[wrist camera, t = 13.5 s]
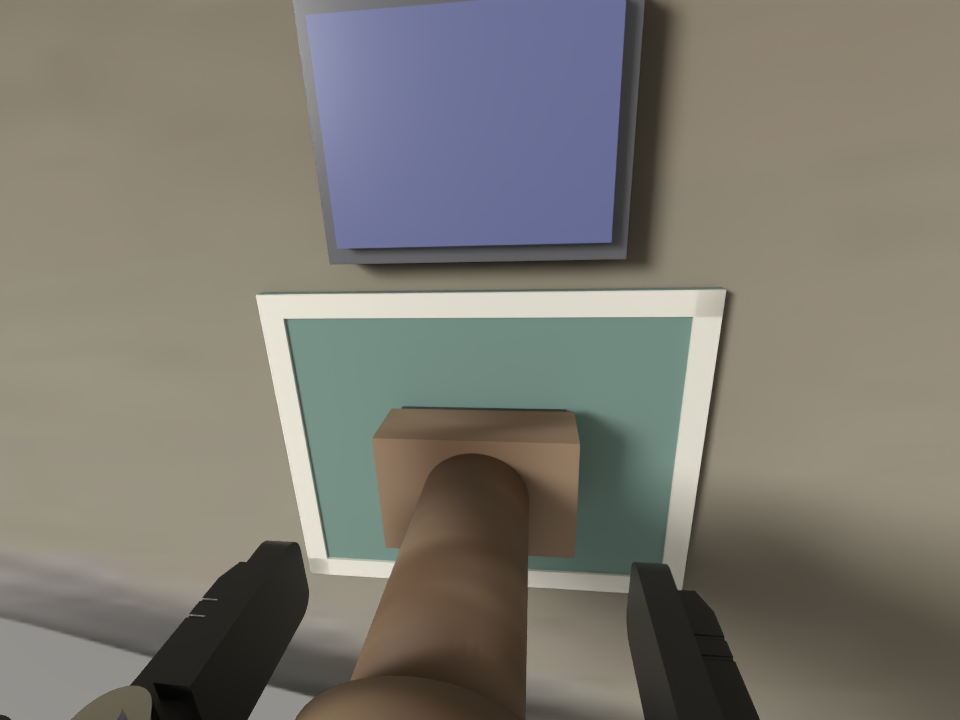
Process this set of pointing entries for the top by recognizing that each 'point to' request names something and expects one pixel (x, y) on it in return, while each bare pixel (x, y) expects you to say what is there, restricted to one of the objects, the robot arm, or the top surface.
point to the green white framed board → (502, 384)
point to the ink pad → (472, 127)
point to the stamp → (460, 560)
